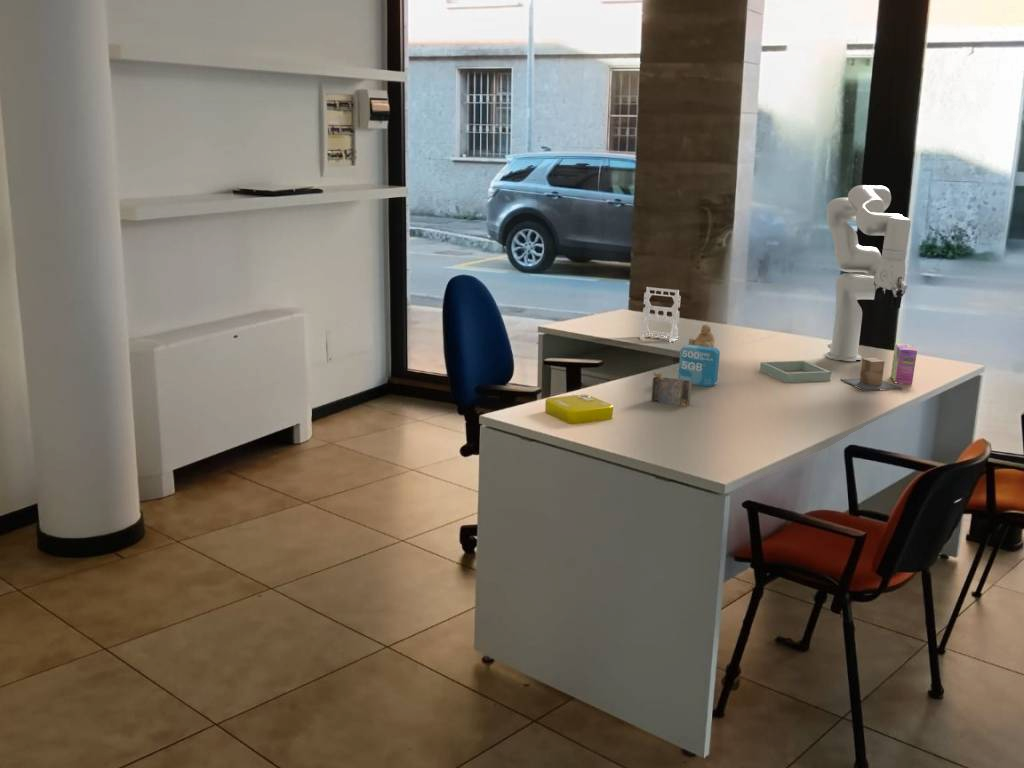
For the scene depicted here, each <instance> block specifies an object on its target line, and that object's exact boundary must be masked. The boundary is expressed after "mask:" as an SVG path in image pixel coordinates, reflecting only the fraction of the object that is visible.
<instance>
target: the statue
mask: <svg viewBox="0 0 1024 768" xmlns="http://www.w3.org/2000/svg"><path fill="white" fill-rule="evenodd" d="M711 329H712V328H711V326H710V325H709V324H707V323H706V324H703V325H701V329H700V332H699V334H698V335H697V337H696V338H695V339H694V338H689V339H688V344H687V345H695V346H703V347H711V348H715V336H714V334H713V333H712V332H711V331H712V330H711Z"/></svg>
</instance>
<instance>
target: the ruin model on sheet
mask: <svg viewBox="0 0 1024 768" xmlns="http://www.w3.org/2000/svg"><path fill="white" fill-rule="evenodd" d="M653 375H654V377H652V383H651V386H652V387H651V395H650V396H651V398H650V399H651V401H650V402H654V401H657V402H658V403H660V404H661V403H662V404H669V405H676V406H684V407H689V406H690V405H691V395H692V385H693V384H692V381H688V380H680V379H678V378H671V377H663V376H662V373H661V372H653Z"/></svg>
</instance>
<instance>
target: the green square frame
mask: <svg viewBox="0 0 1024 768" xmlns="http://www.w3.org/2000/svg"><path fill="white" fill-rule="evenodd" d="M798 370H802V371H800V372H786V371H798ZM759 371H761V372H763V373H764V374H767V375H769V376H771V377H773V378H775V379H778V380H780V381H782V382H784V383H802V382H808V383H809V382H827V381H828V382H829V381H830V382H831V378H832V371H830V370H828V369H825V368H823V367H821V366H817V365H815V364H814V363H811V362H808V361H806V360H785V361H783V360H781V361H760V364H759ZM803 371H804V372H803Z"/></svg>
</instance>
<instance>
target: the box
mask: <svg viewBox="0 0 1024 768" xmlns="http://www.w3.org/2000/svg"><path fill="white" fill-rule="evenodd" d="M917 354H918V351H917V349H916V347H915V346H914V345H913V344H911V343H910V344H909V343H899V342H895V343H894V349H893V358H892V364H891V370H890V377H891V376H892V377H891V378H893V379H892V380H893V382H894V381H895V382H897V383H896V384H899V383H903V384H902V385H911V384H912V385H913V382H914V381H913V380H914V374H915V369H916V368H915V366H916V361H917ZM895 382H894V383H895Z"/></svg>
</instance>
